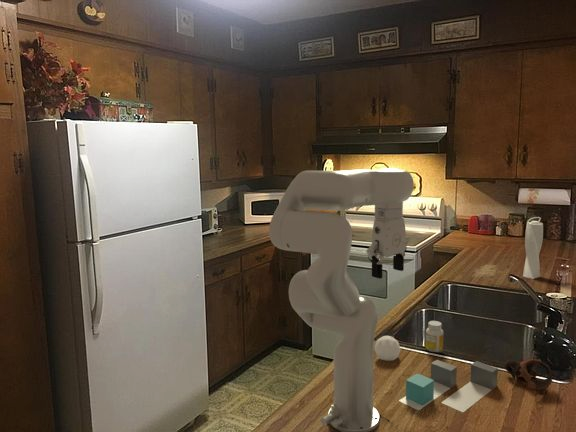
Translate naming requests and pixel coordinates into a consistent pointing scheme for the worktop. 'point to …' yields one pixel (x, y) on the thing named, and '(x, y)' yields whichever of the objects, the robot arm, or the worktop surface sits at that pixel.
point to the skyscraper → (533, 248)
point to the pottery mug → (529, 372)
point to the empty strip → (474, 387)
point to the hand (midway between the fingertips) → (387, 273)
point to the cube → (419, 389)
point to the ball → (387, 348)
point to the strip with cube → (437, 381)
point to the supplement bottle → (434, 337)
